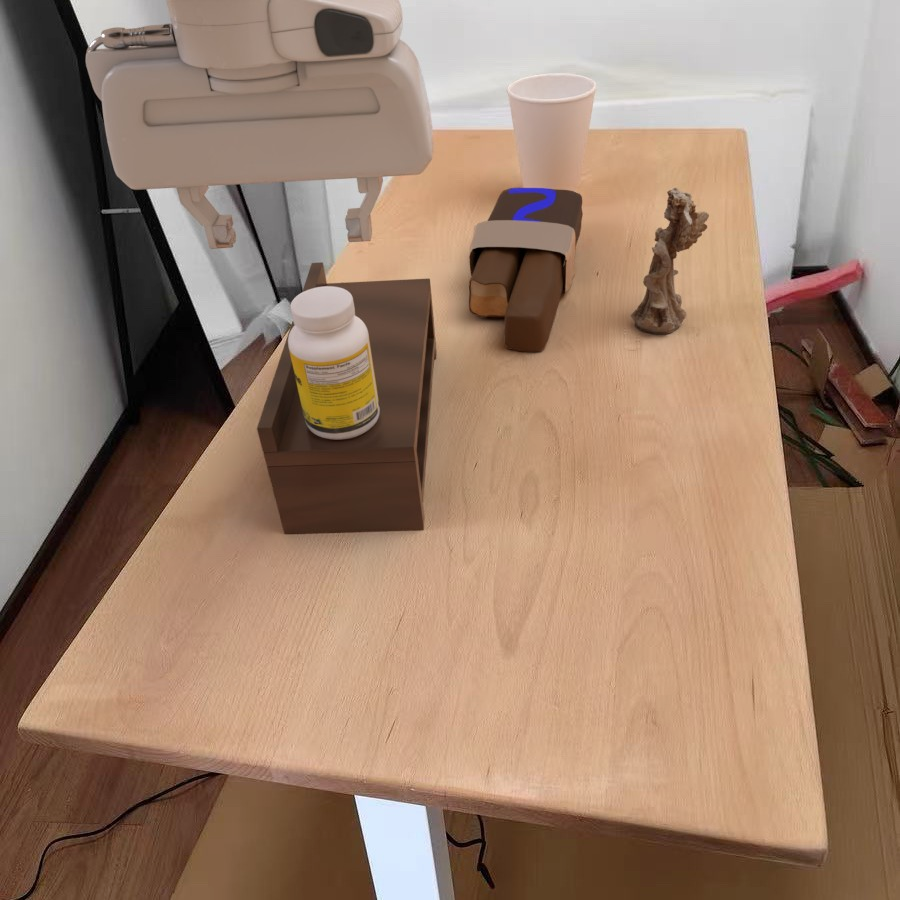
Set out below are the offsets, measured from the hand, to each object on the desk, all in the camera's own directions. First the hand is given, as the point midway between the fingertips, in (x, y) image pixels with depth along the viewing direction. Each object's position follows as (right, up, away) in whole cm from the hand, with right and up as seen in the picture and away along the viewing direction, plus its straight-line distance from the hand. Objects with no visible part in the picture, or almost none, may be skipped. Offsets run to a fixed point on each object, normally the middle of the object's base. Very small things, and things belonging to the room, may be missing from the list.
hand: (291, 241), depth 59 cm
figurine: (+34, 0, +38) cm, 51 cm away
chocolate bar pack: (+20, +6, +47) cm, 51 cm away
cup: (+25, +22, +66) cm, 74 cm away
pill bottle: (+2, -12, +12) cm, 17 cm away
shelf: (+3, -12, +26) cm, 29 cm away
